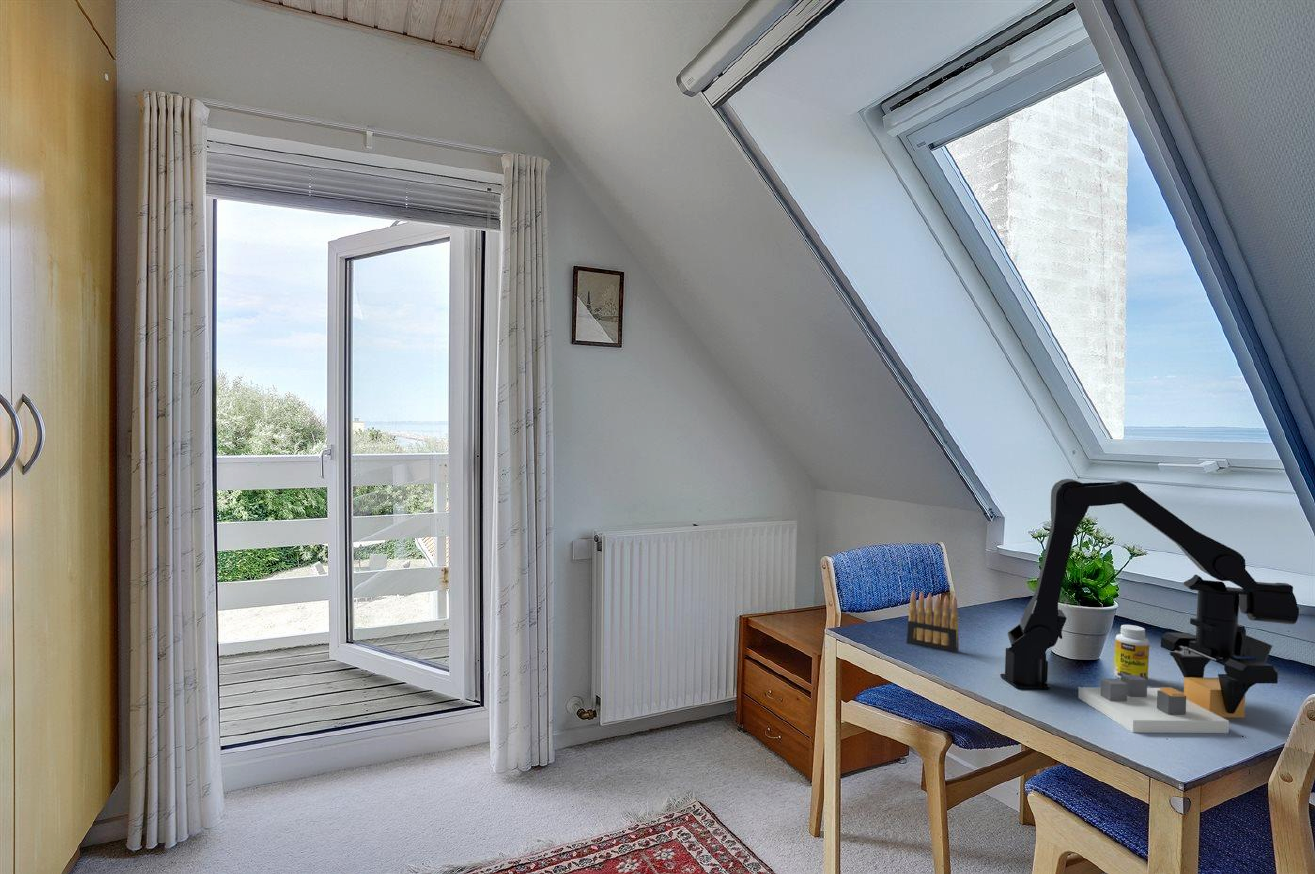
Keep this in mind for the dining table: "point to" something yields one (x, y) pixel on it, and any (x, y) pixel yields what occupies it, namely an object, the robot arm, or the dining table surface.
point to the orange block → (1209, 696)
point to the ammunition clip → (933, 624)
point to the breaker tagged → (1171, 701)
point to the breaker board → (1147, 708)
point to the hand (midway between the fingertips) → (1213, 704)
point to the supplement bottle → (1131, 652)
